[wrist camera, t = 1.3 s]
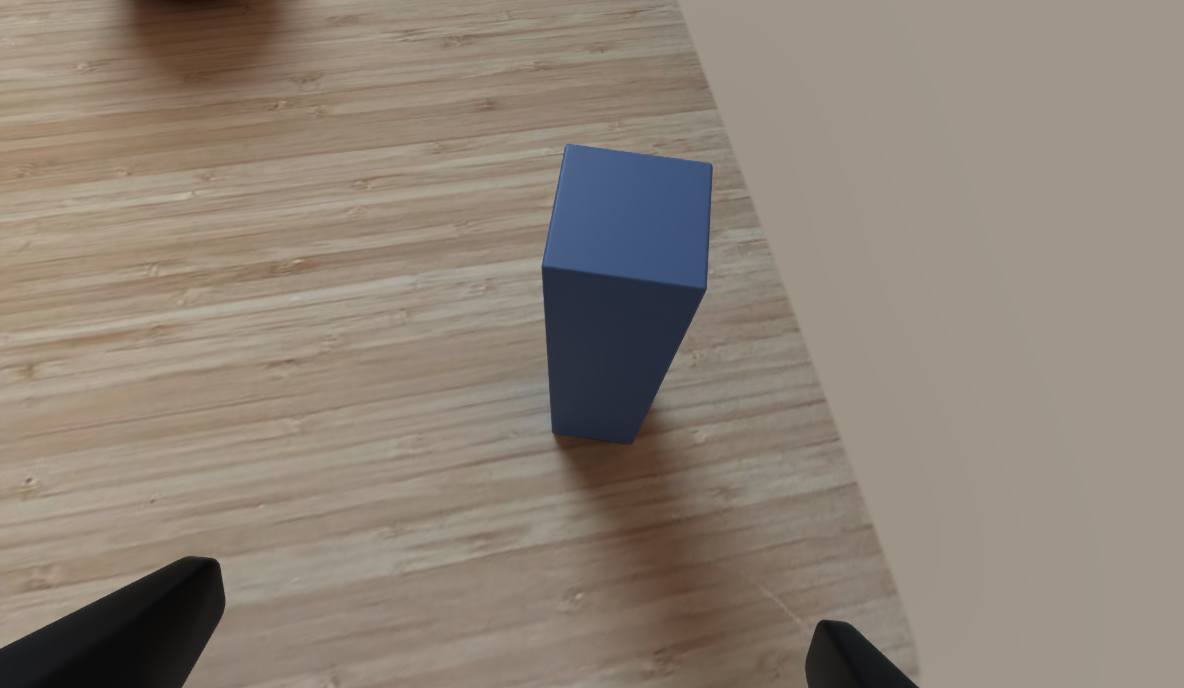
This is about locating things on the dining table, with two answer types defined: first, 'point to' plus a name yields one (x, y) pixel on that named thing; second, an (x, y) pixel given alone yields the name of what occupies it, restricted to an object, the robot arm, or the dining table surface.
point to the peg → (620, 283)
